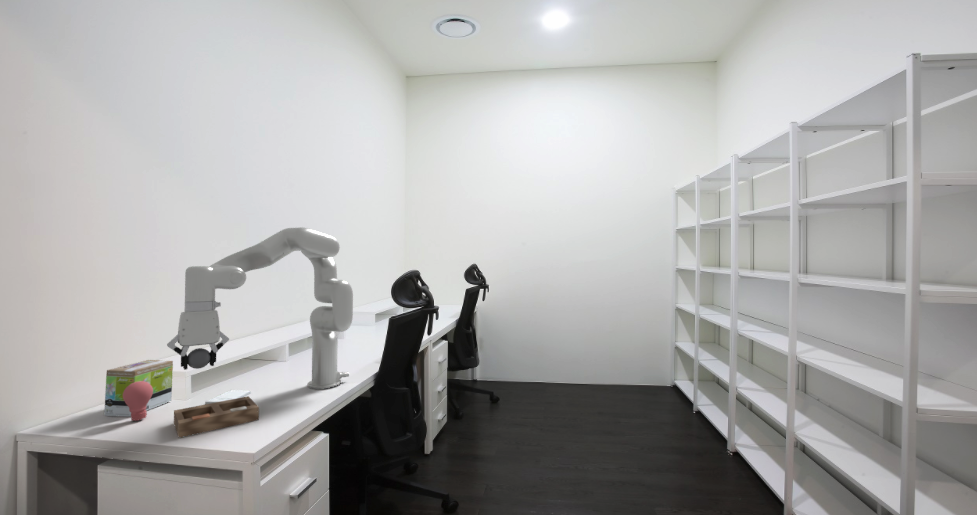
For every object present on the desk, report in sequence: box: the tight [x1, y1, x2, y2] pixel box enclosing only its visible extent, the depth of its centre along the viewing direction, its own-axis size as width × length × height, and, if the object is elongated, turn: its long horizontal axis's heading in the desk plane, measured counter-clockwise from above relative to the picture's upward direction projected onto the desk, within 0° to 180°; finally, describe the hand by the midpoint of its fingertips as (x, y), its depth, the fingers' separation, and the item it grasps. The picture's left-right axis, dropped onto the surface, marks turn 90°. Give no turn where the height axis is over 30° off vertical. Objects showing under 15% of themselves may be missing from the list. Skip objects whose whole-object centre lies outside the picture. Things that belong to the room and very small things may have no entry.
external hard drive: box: [204, 389, 252, 405], centre depth 147 cm, size 2×8×12 cm
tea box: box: [103, 359, 174, 418], centre depth 136 cm, size 15×10×15 cm
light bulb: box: [123, 381, 153, 421], centre depth 126 cm, size 7×7×12 cm
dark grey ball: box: [187, 347, 211, 370], centre depth 123 cm, size 6×6×6 cm
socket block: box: [173, 395, 260, 438], centre depth 126 cm, size 20×14×4 cm
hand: (198, 366), depth 123 cm, fingers closed on dark grey ball, 5 cm apart
